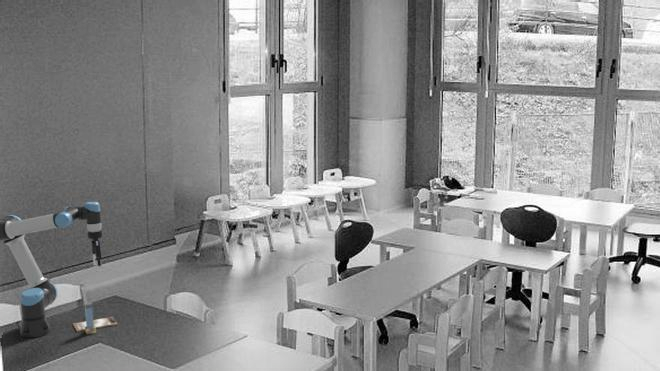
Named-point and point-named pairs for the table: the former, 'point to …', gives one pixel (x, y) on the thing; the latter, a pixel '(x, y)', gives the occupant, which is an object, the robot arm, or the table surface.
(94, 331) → the stand
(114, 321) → the clipboard
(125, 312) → the table surface
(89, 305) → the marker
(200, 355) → the table surface
